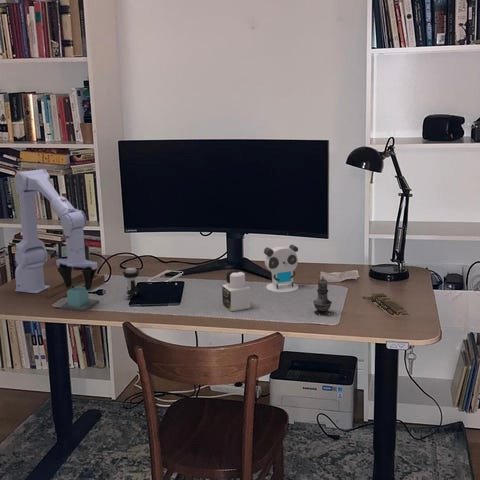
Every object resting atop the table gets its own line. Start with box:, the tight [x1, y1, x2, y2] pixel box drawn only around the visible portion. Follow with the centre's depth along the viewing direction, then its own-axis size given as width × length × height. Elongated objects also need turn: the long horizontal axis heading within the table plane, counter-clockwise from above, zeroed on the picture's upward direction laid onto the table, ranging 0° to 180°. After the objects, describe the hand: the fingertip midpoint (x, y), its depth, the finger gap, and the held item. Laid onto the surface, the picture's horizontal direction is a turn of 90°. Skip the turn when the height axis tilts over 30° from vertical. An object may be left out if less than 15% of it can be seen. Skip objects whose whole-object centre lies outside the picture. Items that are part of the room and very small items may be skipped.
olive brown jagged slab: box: [362, 292, 408, 315], centre depth 215 cm, size 22×9×2 cm, turn 12°
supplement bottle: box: [72, 237, 91, 271], centre depth 265 cm, size 7×7×12 cm
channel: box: [46, 272, 106, 299], centre depth 238 cm, size 10×21×3 cm, turn 159°
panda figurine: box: [263, 244, 299, 294], centre depth 235 cm, size 12×11×15 cm
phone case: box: [147, 269, 184, 283], centre depth 250 cm, size 7×1×15 cm
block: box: [66, 285, 90, 307], centre depth 220 cm, size 4×6×5 cm
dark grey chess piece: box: [313, 276, 333, 316], centre depth 209 cm, size 6×6×12 cm
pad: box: [60, 298, 100, 312], centre depth 221 cm, size 9×9×1 cm
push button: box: [122, 267, 140, 300], centre depth 227 cm, size 7×5×10 cm
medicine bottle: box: [221, 269, 251, 312], centre depth 216 cm, size 7×7×12 cm
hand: (78, 288), depth 220 cm, fingers open, 7 cm apart
